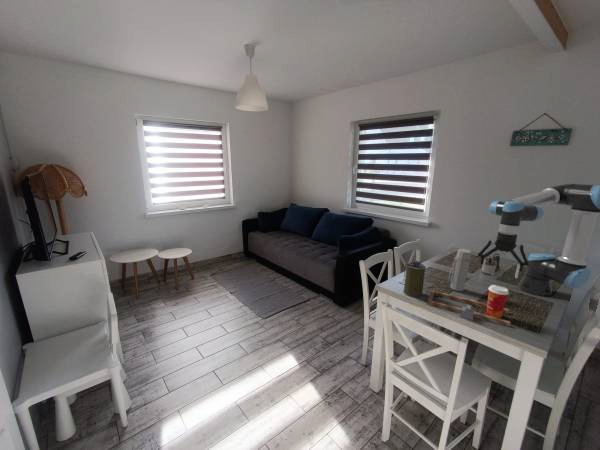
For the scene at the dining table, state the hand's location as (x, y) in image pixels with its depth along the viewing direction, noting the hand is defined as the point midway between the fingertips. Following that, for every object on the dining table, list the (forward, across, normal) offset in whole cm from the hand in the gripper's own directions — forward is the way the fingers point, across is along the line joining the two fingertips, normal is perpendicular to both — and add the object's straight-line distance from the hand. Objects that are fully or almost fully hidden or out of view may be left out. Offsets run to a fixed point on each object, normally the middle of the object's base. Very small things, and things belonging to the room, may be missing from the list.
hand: (499, 273), depth 133 cm
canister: (+22, +38, +5) cm, 44 cm away
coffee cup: (+21, -1, +5) cm, 21 cm away
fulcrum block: (+21, +10, +14) cm, 27 cm away
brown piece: (+21, +10, +5) cm, 24 cm away
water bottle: (+21, +18, -17) cm, 32 cm away
